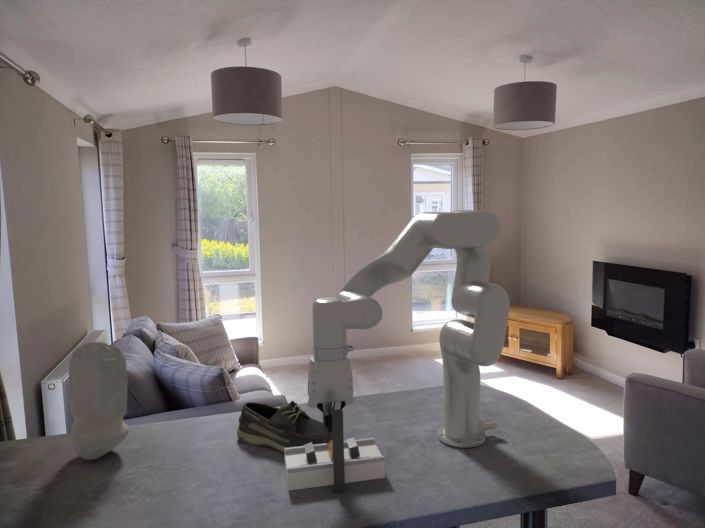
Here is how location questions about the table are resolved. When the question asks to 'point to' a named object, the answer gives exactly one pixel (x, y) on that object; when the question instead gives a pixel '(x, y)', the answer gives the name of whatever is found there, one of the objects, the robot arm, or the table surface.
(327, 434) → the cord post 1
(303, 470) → the breaker panel
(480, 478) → the table surface
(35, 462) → the table surface
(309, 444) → the grey block
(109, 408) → the sculpture
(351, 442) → the grey block
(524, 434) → the table surface
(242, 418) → the boat shoe
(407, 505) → the table surface
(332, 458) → the rectangular block
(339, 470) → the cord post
